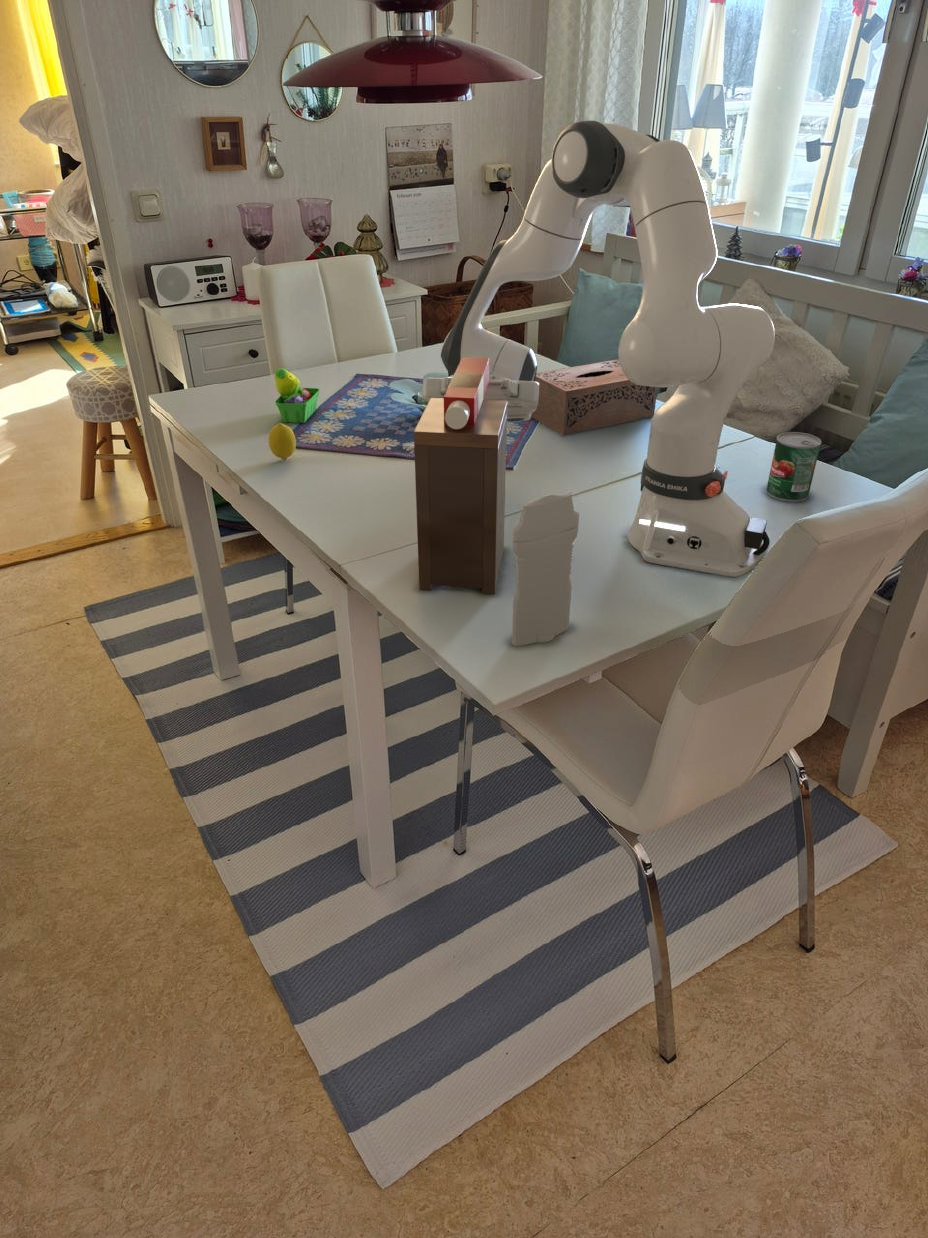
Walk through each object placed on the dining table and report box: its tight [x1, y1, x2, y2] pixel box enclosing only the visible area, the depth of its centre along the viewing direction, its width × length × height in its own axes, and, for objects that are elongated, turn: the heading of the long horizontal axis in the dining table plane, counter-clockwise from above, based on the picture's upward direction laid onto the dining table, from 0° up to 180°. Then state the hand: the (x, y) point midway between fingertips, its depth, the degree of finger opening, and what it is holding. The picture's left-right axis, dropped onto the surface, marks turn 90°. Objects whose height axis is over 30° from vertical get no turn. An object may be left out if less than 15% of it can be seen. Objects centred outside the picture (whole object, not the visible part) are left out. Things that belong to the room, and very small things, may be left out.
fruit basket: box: [274, 367, 321, 424], centre depth 200 cm, size 11×9×11 cm
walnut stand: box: [413, 398, 508, 595], centre depth 134 cm, size 15×12×26 cm
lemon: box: [268, 422, 297, 461], centre depth 178 cm, size 6×6×8 cm
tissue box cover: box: [531, 358, 659, 436], centre depth 200 cm, size 26×14×10 cm, turn 118°
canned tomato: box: [765, 431, 822, 503], centre depth 163 cm, size 8×8×11 cm
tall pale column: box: [511, 492, 580, 647], centre depth 118 cm, size 11×4×22 cm, turn 120°
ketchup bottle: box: [444, 358, 489, 429], centre depth 129 cm, size 23×4×4 cm, turn 173°
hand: (477, 382), depth 142 cm, fingers open, 8 cm apart
